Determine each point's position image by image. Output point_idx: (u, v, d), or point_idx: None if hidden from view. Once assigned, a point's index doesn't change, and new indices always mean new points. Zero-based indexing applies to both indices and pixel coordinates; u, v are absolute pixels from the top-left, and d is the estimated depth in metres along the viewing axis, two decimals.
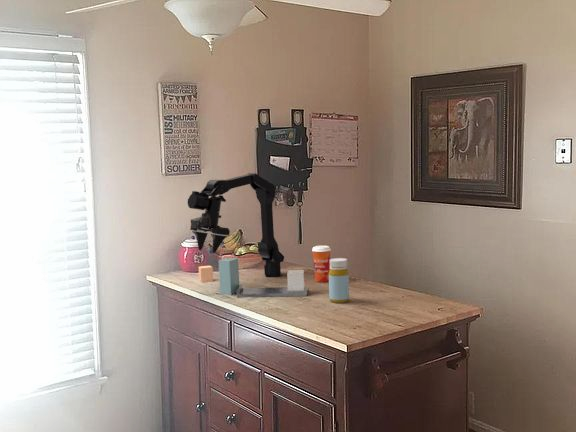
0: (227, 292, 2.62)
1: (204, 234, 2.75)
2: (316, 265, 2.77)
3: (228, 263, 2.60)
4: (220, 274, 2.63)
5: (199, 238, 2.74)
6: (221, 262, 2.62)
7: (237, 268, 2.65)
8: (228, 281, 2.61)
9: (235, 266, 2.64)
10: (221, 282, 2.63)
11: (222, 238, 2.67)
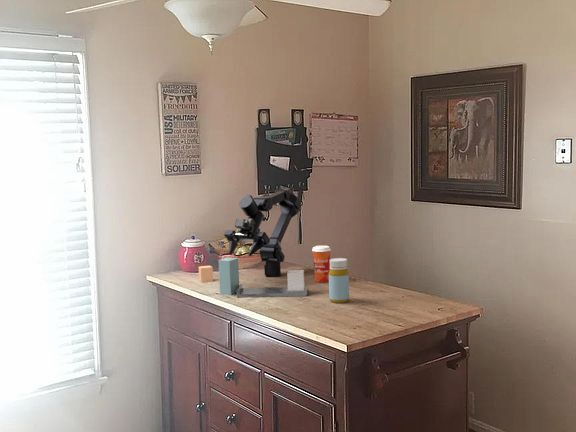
0: (227, 292, 2.62)
1: (235, 243, 2.77)
2: (316, 265, 2.77)
3: (228, 263, 2.60)
4: (220, 274, 2.63)
5: (232, 243, 2.75)
6: (221, 262, 2.62)
7: (237, 268, 2.65)
8: (228, 281, 2.61)
9: (235, 266, 2.64)
10: (221, 282, 2.63)
11: (260, 246, 2.72)
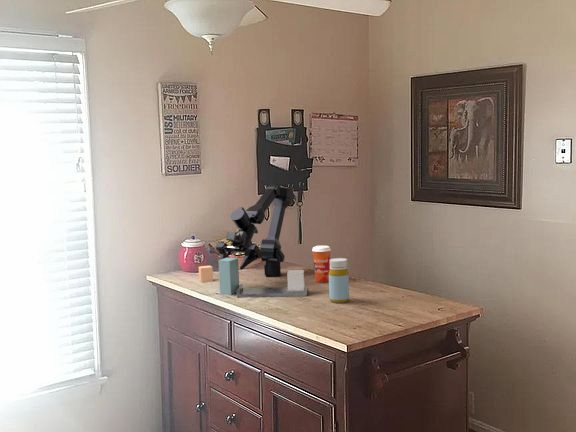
0: (227, 292, 2.62)
1: (227, 256, 2.72)
2: (316, 265, 2.77)
3: (228, 263, 2.60)
4: (220, 274, 2.63)
5: (223, 256, 2.70)
6: (221, 262, 2.62)
7: (237, 268, 2.65)
8: (228, 281, 2.61)
9: (235, 266, 2.64)
10: (221, 282, 2.63)
11: (252, 259, 2.67)
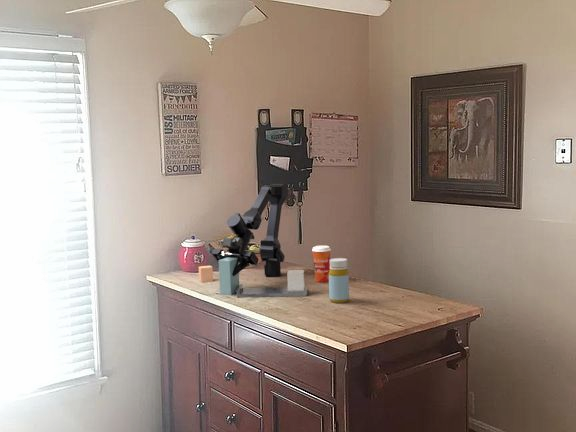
0: (227, 292, 2.62)
1: None
2: (316, 265, 2.77)
3: (228, 263, 2.60)
4: (220, 274, 2.63)
5: None
6: (221, 262, 2.62)
7: None
8: (228, 281, 2.61)
9: None
10: (221, 282, 2.63)
11: (244, 265, 2.65)
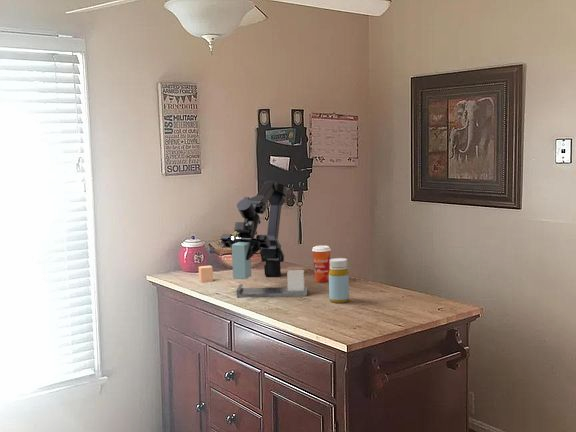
0: (241, 277, 2.59)
1: None
2: (316, 265, 2.77)
3: (243, 247, 2.57)
4: (233, 259, 2.59)
5: None
6: (235, 247, 2.58)
7: None
8: (243, 265, 2.58)
9: None
10: (234, 267, 2.60)
11: (256, 249, 2.63)
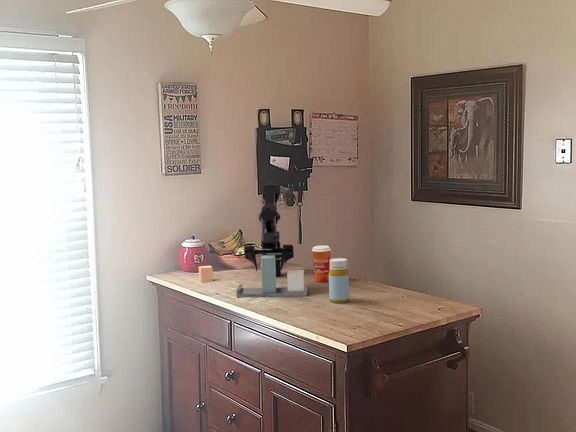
0: (271, 290, 2.58)
1: None
2: (316, 265, 2.77)
3: (273, 260, 2.57)
4: (263, 272, 2.57)
5: None
6: (264, 260, 2.57)
7: None
8: (273, 278, 2.57)
9: None
10: (264, 280, 2.58)
11: (286, 259, 2.63)
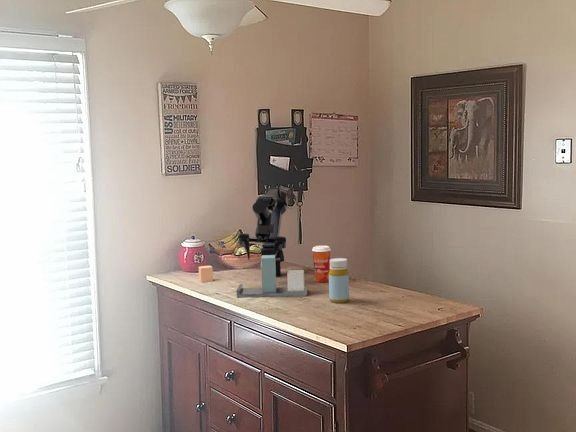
0: (271, 290, 2.58)
1: None
2: (316, 265, 2.77)
3: (273, 260, 2.57)
4: (263, 272, 2.57)
5: None
6: (264, 260, 2.57)
7: None
8: (273, 278, 2.57)
9: None
10: (264, 280, 2.58)
11: (278, 250, 2.74)
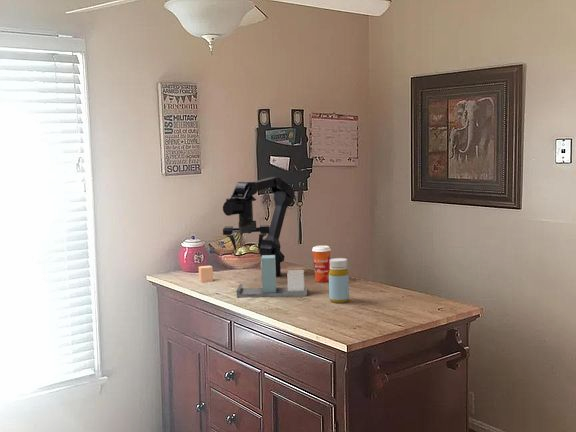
0: (271, 290, 2.58)
1: (234, 235, 2.81)
2: (316, 265, 2.77)
3: (273, 260, 2.57)
4: (263, 272, 2.57)
5: (234, 240, 2.79)
6: (264, 260, 2.57)
7: None
8: (273, 278, 2.57)
9: None
10: (264, 280, 2.58)
11: None
